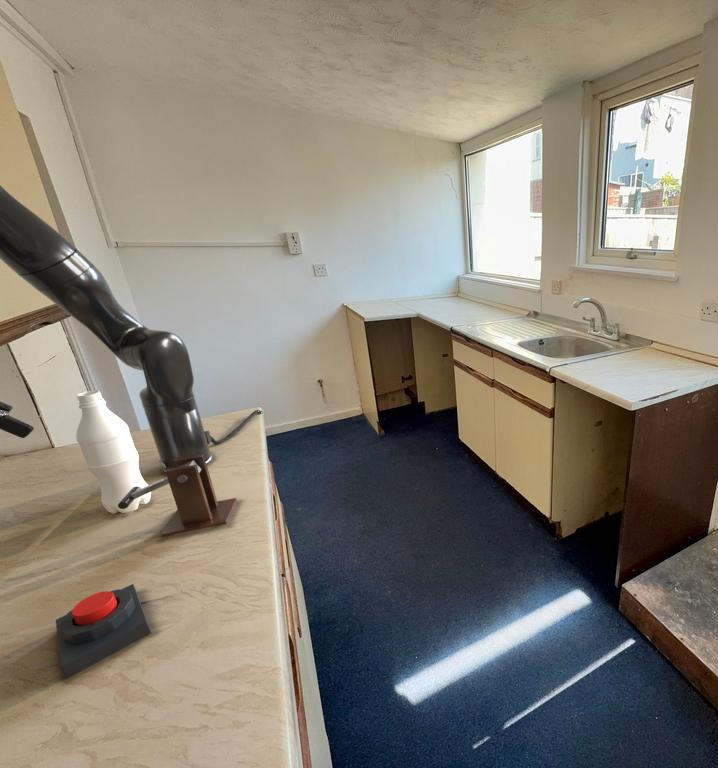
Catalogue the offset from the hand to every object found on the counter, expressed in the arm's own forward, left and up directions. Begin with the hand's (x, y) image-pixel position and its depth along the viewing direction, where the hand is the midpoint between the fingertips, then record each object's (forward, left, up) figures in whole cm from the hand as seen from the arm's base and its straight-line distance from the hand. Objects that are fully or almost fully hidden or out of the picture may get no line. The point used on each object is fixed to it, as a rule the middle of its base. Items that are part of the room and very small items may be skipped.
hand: (10, 444), depth 64 cm
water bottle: (-9, +7, -20) cm, 23 cm away
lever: (+1, +18, -12) cm, 22 cm away
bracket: (+1, +22, -20) cm, 30 cm away
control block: (+25, +17, -20) cm, 36 cm away
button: (+25, +17, -17) cm, 35 cm away
